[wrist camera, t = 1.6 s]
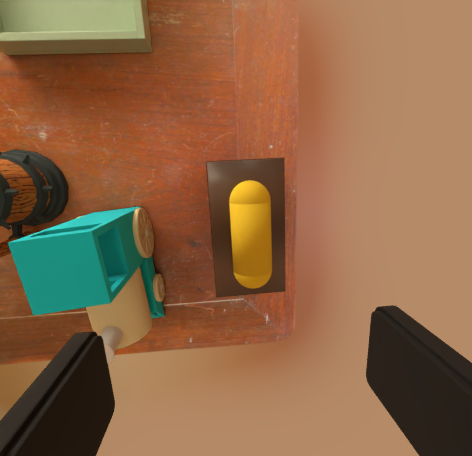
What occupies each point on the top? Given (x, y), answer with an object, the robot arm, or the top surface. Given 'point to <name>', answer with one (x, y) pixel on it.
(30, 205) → the mug
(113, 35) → the tray
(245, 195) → the yellow capsule toy
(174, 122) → the top surface
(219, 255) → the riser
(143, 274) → the toy train
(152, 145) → the top surface
